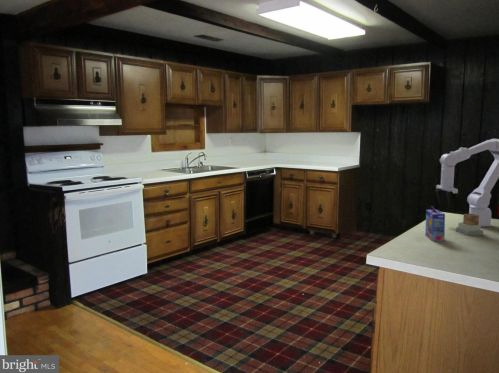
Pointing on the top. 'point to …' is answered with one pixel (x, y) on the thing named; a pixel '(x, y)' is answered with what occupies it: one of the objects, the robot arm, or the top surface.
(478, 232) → the base tile
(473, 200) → the robot arm
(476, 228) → the top tile
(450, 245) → the top surface
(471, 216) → the walnut cube
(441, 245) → the top surface
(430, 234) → the ink cartridge box
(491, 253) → the top surface
